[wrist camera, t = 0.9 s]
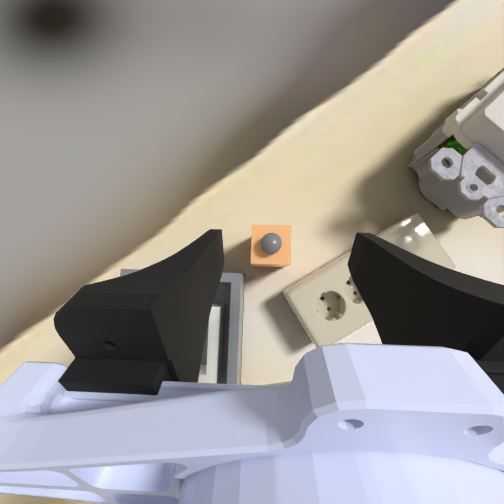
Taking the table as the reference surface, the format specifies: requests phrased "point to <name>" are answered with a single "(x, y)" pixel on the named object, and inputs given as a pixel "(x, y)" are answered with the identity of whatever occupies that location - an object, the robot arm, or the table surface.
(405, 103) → the table surface
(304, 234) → the table surface
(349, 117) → the table surface
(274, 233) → the plug
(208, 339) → the bay
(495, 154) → the grey latched case
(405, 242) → the electrical outlet
